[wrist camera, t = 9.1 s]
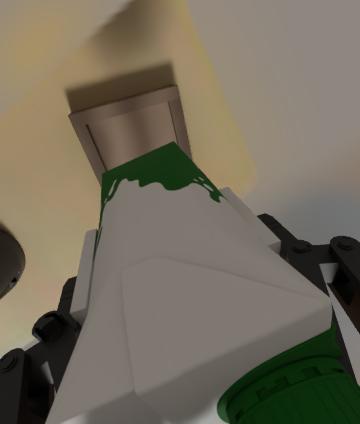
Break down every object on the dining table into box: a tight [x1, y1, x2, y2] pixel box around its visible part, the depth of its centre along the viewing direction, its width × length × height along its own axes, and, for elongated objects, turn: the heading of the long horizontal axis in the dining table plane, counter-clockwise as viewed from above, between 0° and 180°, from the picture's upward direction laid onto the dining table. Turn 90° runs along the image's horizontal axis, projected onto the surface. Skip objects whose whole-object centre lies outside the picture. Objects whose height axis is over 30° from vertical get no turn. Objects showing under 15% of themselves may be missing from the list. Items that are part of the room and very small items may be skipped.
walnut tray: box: [68, 85, 192, 188], centre depth 33 cm, size 14×14×2 cm
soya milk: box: [45, 141, 360, 424], centre depth 14 cm, size 9×9×20 cm
